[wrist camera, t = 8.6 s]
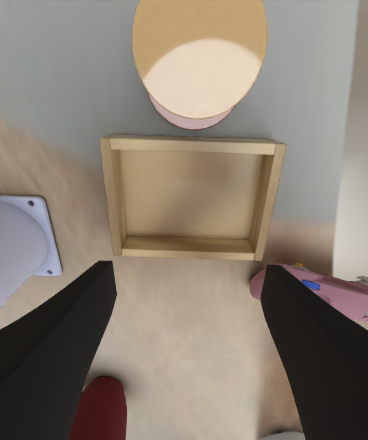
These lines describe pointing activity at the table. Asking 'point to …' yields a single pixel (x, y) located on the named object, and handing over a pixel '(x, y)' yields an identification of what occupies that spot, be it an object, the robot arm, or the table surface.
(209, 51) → the spice jar
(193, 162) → the crate
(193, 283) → the table surface
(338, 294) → the video game controller
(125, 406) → the mug
